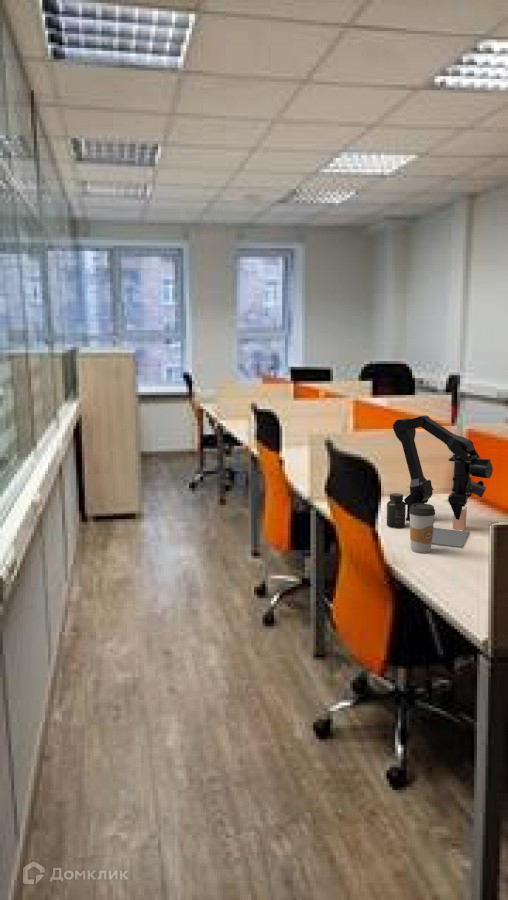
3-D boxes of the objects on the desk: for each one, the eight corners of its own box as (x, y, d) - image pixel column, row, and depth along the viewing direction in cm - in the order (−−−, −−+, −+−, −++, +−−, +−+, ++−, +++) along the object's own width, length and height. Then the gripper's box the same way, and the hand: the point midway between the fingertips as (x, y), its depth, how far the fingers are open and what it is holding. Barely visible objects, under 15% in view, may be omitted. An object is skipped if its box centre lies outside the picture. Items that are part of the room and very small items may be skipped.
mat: (422, 543, 230) (422, 542, 230) (432, 528, 247) (432, 527, 247) (461, 548, 225) (461, 546, 224) (469, 532, 242) (469, 531, 241)
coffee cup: (419, 555, 217) (421, 510, 214) (402, 548, 224) (403, 504, 221) (439, 552, 221) (441, 507, 218) (421, 545, 228) (423, 501, 225)
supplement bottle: (406, 524, 252) (408, 493, 250) (402, 529, 246) (404, 497, 244) (388, 522, 255) (389, 491, 253) (384, 527, 249) (385, 495, 247)
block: (452, 529, 246) (453, 508, 244) (454, 526, 249) (455, 505, 248) (464, 530, 244) (465, 509, 243) (465, 527, 248) (466, 506, 246)
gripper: (482, 481, 232) (479, 525, 234) (488, 471, 248) (485, 512, 251) (449, 478, 236) (446, 521, 239) (456, 469, 253) (454, 509, 256)
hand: (459, 516), depth 246 cm, fingers open, 9 cm apart
